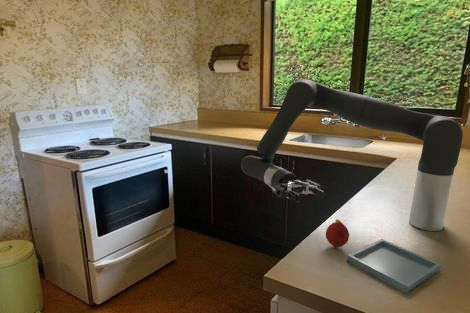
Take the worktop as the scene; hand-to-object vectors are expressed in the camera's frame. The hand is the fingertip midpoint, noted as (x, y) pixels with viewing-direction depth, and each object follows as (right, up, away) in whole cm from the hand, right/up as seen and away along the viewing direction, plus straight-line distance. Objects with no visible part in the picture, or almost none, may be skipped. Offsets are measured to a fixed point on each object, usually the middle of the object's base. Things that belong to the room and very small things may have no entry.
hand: (311, 197), depth 98 cm
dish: (+16, -15, -15) cm, 27 cm away
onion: (+5, -13, -7) cm, 15 cm away
